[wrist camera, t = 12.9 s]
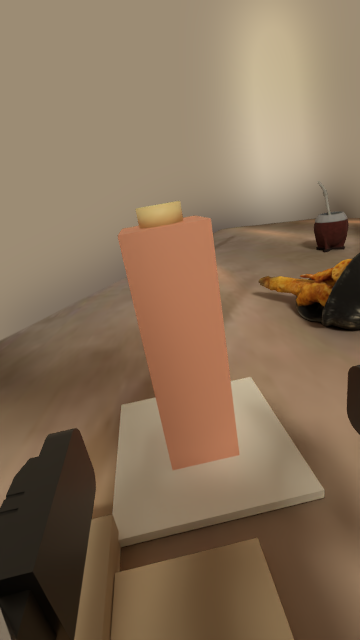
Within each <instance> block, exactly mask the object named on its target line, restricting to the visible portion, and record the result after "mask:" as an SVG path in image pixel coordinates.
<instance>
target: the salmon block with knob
mask: <svg viewBox="0 0 360 640" xmlns="http://www.w3.org/2000/svg"><path fill="white" fill-rule="evenodd" d="M136 213H137V218H138V223H139V226H135V227H130V228H124V229H122V230H121V231H120V233H119V235H118V240H119V244H120V248H121V252H122V257H123V261H124V265H125V269H126V274H127V278H128V282H129V287H130V291H131V295H132V299H133V304H134V308H135V312H136V316H137V321H138V325H139V329H140V333H141V338H142V342H143V346H144V351H145V355H146V359H147V363H148V368H149V372H150V376H151V380H152V385H153V389H154V393H155V398H156V402H157V406H158V410H159V415H160V419H161V423H162V427H163V432H164V436H165V440H166V444H167V449H168V453H169V457H170V462H171V466H172V470H177V469H181V468H185V467H190V466H194V465H198V464H203V463H207V462H211V461H216V460H220V459H224V458H229V457H233V456H238V455H240V454H239V446H238V438H237V430H236V422H235V413H234V405H233V397H232V389H231V380H230V372H229V364H228V356H227V348H226V339H225V331H224V323H223V315H222V307H221V298H220V290H219V282H218V274H217V265H216V257H215V249H214V241H213V233H212V224H211V219H210V218H205V217H200V216H190V217H184V218H183V216H182V209H181V203H180V201H176V202H170V203H164V204H159V205H154V206H148V207H142V208H137V209H136Z"/></svg>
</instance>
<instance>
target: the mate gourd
mask: <svg viewBox="0 0 360 640" xmlns="http://www.w3.org/2000/svg"><path fill="white" fill-rule="evenodd" d="M318 184H319V185H320V187H321V188H322V190H323V195H324V197H325V201H326V207H327V211H328V213H324V214H320V215H318V217H317V218H316V220H315V224H314V233H315V238H316V242H317V245H318V247H316V249H317V250H322V249H325V250H324V252H328V251H330V250H332V249H345V247H344V243H345V240H346V237H347V231H348V219H347V217H346V215H345V213H344V212H330V209H329V203H328V198H327V191H326V190H325V188H324V186H323V185H322V184H321V183H320V182H319V181H318Z"/></svg>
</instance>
